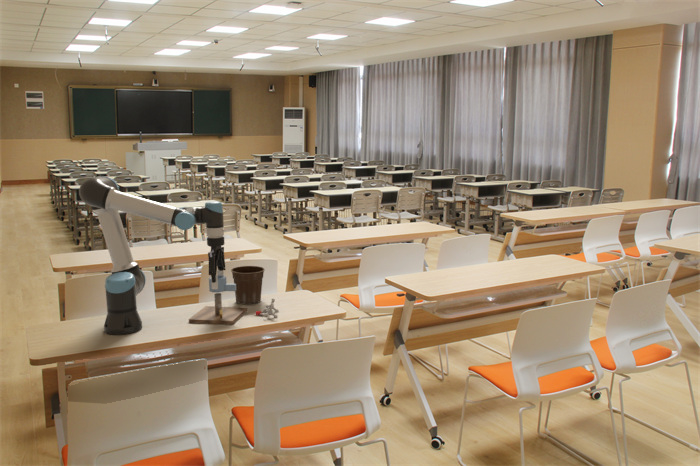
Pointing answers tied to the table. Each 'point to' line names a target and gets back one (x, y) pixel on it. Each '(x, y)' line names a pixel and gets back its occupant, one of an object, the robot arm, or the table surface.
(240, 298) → the plant pot
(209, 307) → the post base
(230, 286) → the flange collar
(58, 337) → the table surface
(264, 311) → the molecular model
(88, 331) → the table surface
